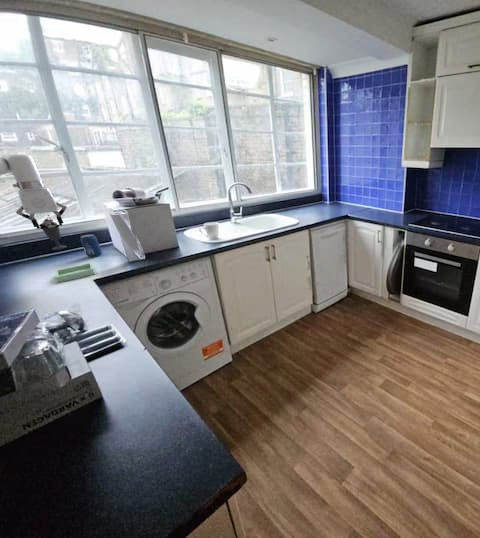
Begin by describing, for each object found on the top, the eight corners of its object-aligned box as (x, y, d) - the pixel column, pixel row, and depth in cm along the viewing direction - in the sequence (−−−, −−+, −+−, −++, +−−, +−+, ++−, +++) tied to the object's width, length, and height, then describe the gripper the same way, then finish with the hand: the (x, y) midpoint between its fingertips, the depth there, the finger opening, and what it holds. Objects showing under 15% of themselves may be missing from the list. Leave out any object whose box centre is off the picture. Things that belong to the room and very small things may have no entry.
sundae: (68, 244, 139) (55, 213, 134) (69, 247, 135) (55, 215, 129) (49, 248, 135) (34, 215, 129) (49, 251, 131) (34, 218, 125)
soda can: (100, 252, 174) (92, 233, 169) (104, 254, 170) (96, 235, 166) (85, 256, 169) (77, 236, 164) (89, 258, 165) (80, 238, 160)
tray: (57, 282, 136) (55, 277, 135) (58, 275, 144) (55, 270, 143) (94, 274, 144) (92, 269, 143) (92, 267, 152) (90, 262, 151)
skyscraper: (145, 260, 160) (127, 208, 149) (127, 263, 156) (107, 211, 145) (145, 255, 167) (128, 206, 156) (127, 259, 163) (109, 208, 152)
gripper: (-1, 188, 116) (21, 232, 123) (59, 184, 127) (76, 224, 134) (2, 187, 121) (23, 229, 128) (59, 183, 132) (75, 221, 139)
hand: (49, 226), depth 131 cm, fingers closed on sundae, 6 cm apart
